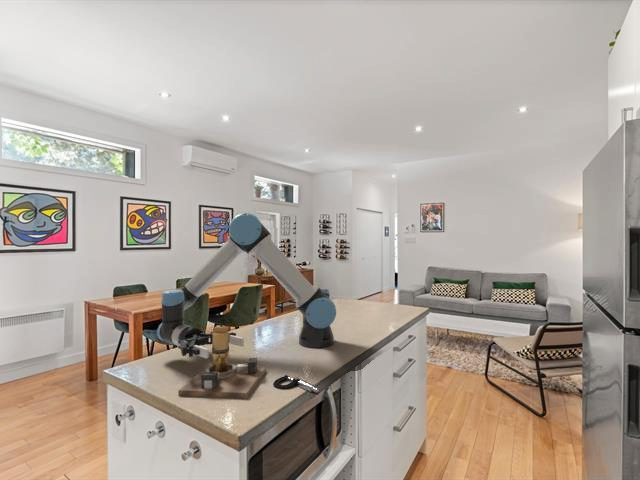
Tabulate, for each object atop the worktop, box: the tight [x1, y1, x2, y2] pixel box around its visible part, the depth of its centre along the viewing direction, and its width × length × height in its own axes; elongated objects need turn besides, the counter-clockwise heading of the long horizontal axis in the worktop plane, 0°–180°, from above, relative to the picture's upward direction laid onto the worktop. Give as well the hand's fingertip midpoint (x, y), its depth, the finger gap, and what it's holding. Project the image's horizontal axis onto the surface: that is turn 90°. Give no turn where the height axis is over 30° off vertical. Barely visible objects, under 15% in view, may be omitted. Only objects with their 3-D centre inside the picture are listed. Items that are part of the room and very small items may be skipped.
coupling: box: [211, 326, 230, 373], centre depth 105 cm, size 5×5×15 cm
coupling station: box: [177, 357, 267, 399], centre depth 101 cm, size 20×19×5 cm
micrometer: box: [272, 374, 320, 394], centre depth 96 cm, size 15×7×2 cm, turn 45°
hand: (226, 347), depth 103 cm, fingers open, 13 cm apart
